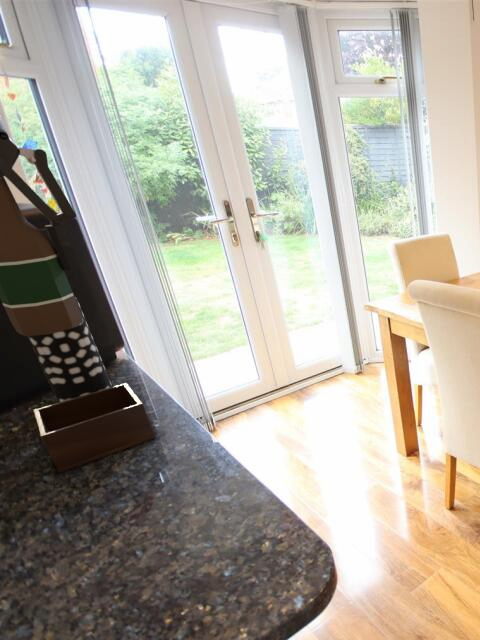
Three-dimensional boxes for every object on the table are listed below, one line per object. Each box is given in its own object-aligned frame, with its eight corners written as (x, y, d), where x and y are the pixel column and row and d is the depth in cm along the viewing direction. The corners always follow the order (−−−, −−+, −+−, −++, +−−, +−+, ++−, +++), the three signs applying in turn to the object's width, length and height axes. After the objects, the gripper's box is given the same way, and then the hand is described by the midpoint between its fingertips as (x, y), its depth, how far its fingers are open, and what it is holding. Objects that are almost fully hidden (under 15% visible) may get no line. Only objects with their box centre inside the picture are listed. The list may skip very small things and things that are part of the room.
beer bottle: (12, 341, 66) (-71, 163, 57) (20, 327, 72) (-55, 163, 63) (83, 328, 71) (16, 161, 62) (85, 316, 76) (24, 161, 67)
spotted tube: (59, 399, 92) (15, 303, 85) (111, 385, 97) (75, 294, 90) (60, 413, 86) (14, 312, 79) (116, 397, 92) (78, 301, 84)
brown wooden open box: (49, 444, 77) (33, 409, 74) (138, 414, 85) (126, 382, 83) (59, 473, 69) (40, 436, 67) (155, 437, 78) (142, 403, 75)
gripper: (-187, 92, 50) (-81, 293, 59) (63, 103, 64) (120, 264, 73) (-174, 99, 55) (-77, 284, 64) (57, 108, 69) (111, 259, 78)
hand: (28, 273), depth 68 cm, fingers closed on beer bottle, 8 cm apart
